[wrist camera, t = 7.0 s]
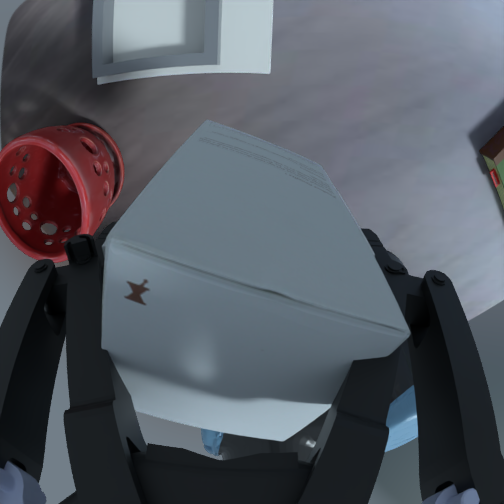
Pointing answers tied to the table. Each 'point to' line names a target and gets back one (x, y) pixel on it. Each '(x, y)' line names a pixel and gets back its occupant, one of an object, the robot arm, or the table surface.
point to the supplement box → (241, 289)
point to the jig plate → (179, 37)
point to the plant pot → (58, 185)
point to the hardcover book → (496, 161)
